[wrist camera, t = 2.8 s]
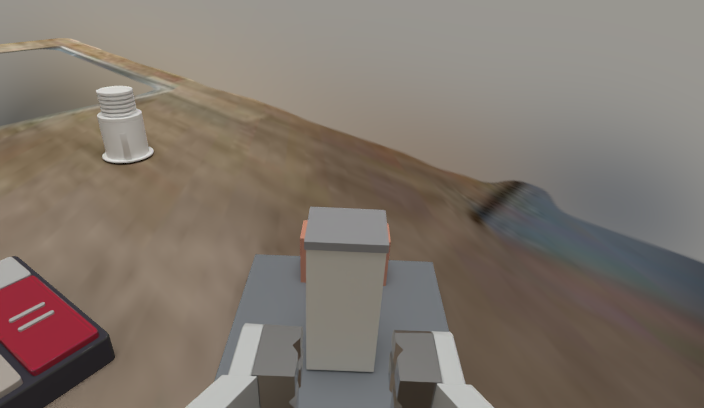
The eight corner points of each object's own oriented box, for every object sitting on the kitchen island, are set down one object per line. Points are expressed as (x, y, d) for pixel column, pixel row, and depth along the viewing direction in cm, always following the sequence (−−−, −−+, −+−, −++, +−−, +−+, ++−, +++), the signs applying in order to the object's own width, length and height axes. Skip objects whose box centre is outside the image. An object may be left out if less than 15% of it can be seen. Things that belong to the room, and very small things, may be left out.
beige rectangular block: (373, 330, 37) (385, 210, 31) (375, 373, 33) (389, 245, 27) (310, 328, 37) (310, 206, 31) (304, 370, 33) (304, 241, 27)
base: (430, 273, 46) (439, 220, 43) (468, 440, 31) (487, 377, 27) (256, 266, 46) (252, 212, 43) (205, 430, 30) (192, 365, 27)
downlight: (155, 162, 66) (143, 94, 61) (102, 169, 63) (84, 98, 58) (152, 144, 72) (140, 81, 67) (103, 150, 69) (87, 85, 65)
